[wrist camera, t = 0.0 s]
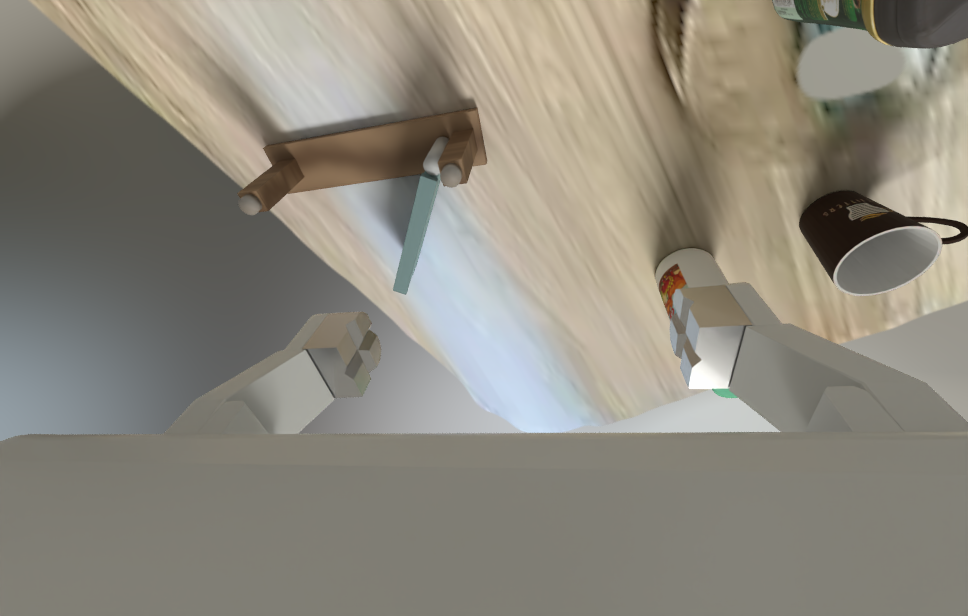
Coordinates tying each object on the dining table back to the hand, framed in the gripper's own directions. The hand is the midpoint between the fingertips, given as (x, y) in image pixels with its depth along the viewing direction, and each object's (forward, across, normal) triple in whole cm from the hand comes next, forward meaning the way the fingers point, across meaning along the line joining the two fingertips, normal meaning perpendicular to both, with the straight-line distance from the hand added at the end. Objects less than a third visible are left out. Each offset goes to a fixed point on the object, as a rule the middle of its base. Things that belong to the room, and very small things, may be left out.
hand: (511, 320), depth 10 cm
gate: (+39, +15, +11) cm, 43 cm away
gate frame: (+39, +20, +3) cm, 44 cm away
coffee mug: (+41, -35, +19) cm, 57 cm away
